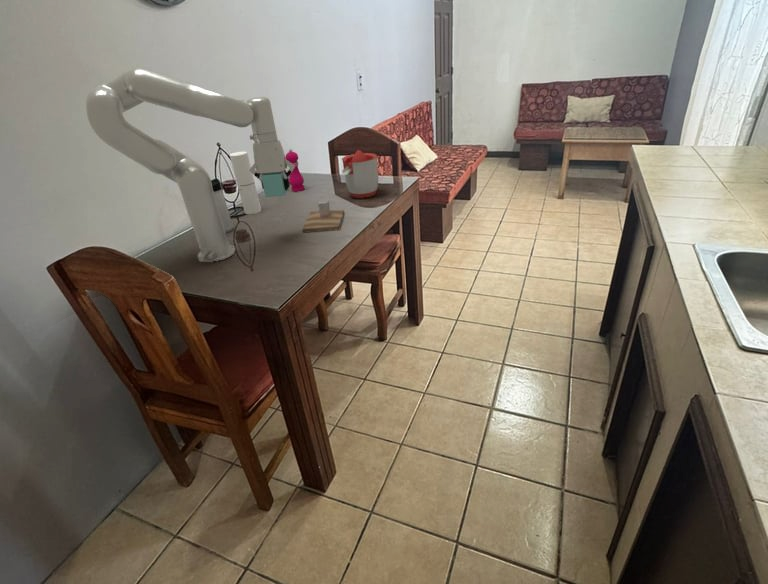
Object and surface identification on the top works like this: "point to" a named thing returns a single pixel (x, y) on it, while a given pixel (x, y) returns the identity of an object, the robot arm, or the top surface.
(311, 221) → the board
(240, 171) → the cylindrical container
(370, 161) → the citrus juicer
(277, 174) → the mint green cube
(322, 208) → the block
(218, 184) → the travel mug
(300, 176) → the pepper mill
